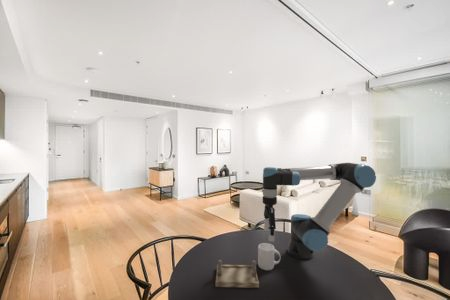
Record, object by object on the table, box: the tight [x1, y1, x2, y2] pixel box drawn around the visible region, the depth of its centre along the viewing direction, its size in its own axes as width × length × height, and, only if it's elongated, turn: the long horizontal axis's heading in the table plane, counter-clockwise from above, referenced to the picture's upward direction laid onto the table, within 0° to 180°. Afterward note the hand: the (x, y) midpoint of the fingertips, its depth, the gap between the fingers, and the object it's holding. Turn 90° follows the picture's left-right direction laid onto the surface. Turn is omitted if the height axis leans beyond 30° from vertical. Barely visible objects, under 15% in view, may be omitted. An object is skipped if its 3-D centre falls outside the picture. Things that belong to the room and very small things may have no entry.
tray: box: [215, 259, 260, 289], centre depth 101 cm, size 20×14×8 cm
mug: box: [257, 242, 282, 271], centre depth 111 cm, size 9×12×11 cm
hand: (269, 235), depth 111 cm, fingers open, 13 cm apart
